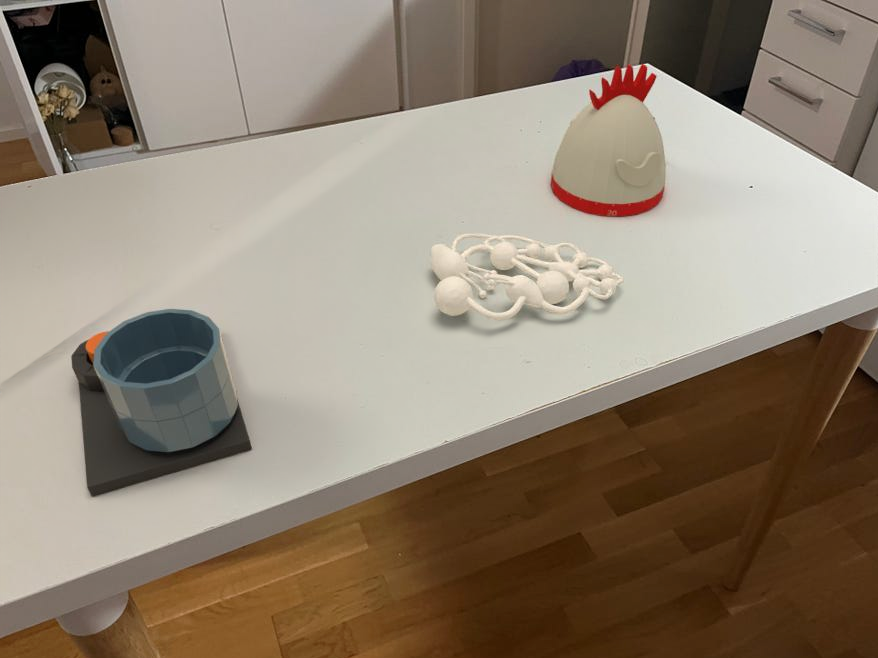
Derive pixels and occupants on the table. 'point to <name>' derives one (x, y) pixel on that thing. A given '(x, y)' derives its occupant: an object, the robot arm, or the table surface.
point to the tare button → (94, 344)
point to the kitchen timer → (612, 151)
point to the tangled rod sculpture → (548, 289)
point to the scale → (125, 462)
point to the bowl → (167, 379)
